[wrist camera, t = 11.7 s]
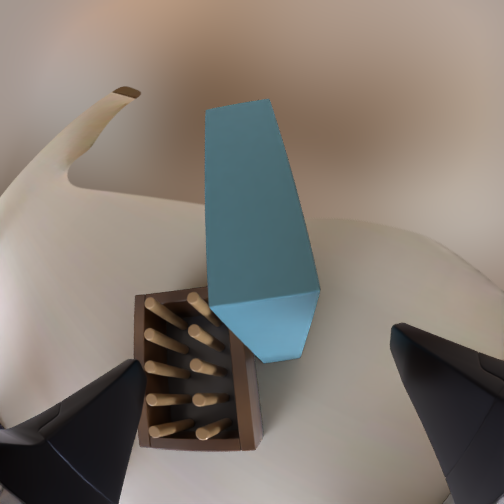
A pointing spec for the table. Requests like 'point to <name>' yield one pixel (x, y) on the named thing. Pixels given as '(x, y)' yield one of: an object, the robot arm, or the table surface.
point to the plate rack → (194, 376)
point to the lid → (256, 234)
